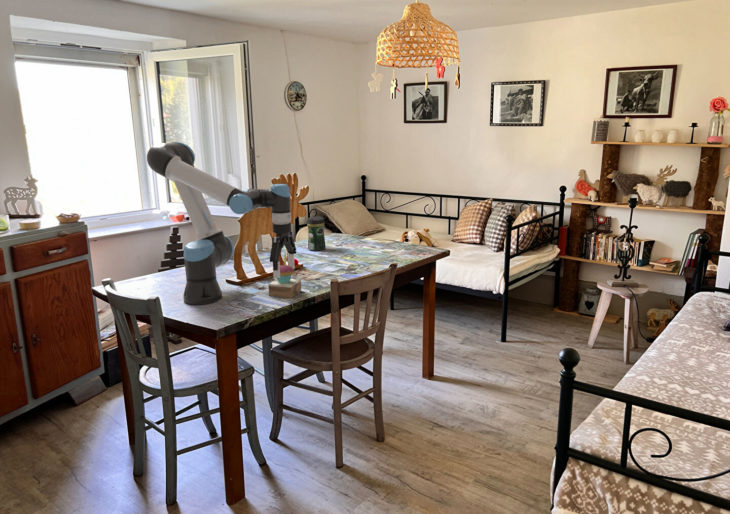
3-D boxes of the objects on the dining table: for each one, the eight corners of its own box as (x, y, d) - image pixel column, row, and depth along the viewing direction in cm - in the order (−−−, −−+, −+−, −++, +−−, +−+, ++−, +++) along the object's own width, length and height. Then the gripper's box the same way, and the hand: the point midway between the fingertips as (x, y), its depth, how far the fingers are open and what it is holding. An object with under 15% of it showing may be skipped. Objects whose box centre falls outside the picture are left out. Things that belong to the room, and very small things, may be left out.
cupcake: (280, 278, 231) (279, 250, 228) (298, 280, 228) (297, 252, 225) (269, 283, 224) (268, 255, 221) (288, 285, 221) (286, 257, 218)
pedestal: (291, 297, 221) (290, 286, 220) (269, 295, 224) (268, 284, 223) (301, 290, 231) (300, 279, 229) (279, 288, 234) (279, 277, 232)
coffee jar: (318, 246, 311) (317, 214, 306) (327, 249, 305) (326, 216, 301) (305, 249, 304) (304, 217, 300) (314, 252, 299) (313, 218, 294)
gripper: (276, 228, 208) (279, 282, 213) (302, 217, 231) (304, 266, 236) (258, 227, 210) (261, 280, 215) (286, 217, 233) (289, 265, 238)
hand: (284, 273), depth 225 cm, fingers open, 13 cm apart
